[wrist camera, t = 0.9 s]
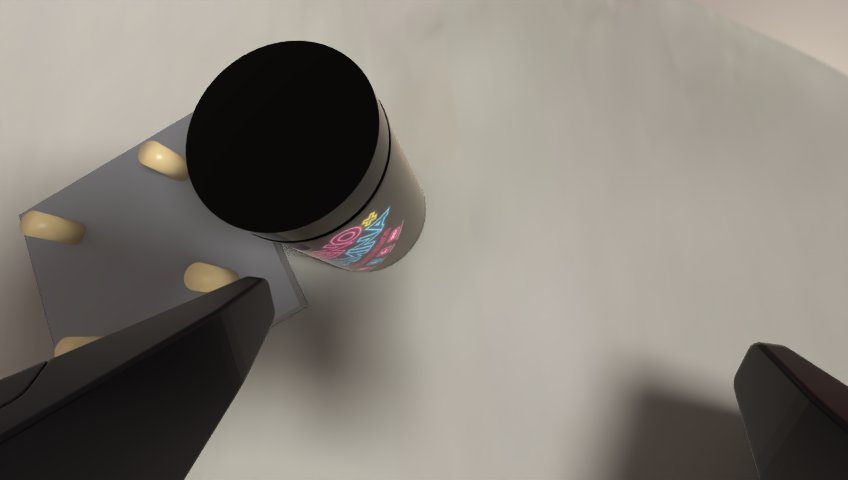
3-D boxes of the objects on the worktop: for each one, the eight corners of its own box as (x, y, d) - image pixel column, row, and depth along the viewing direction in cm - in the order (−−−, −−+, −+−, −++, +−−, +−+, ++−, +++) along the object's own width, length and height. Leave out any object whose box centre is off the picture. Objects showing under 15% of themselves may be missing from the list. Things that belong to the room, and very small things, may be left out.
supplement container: (289, 230, 24) (146, 161, 14) (359, 138, 25) (269, 8, 15) (380, 299, 23) (290, 277, 13) (453, 199, 23) (423, 100, 13)
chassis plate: (308, 306, 23) (276, 302, 20) (94, 427, 24) (27, 443, 20) (220, 110, 27) (180, 78, 23) (35, 219, 27) (-30, 203, 24)
